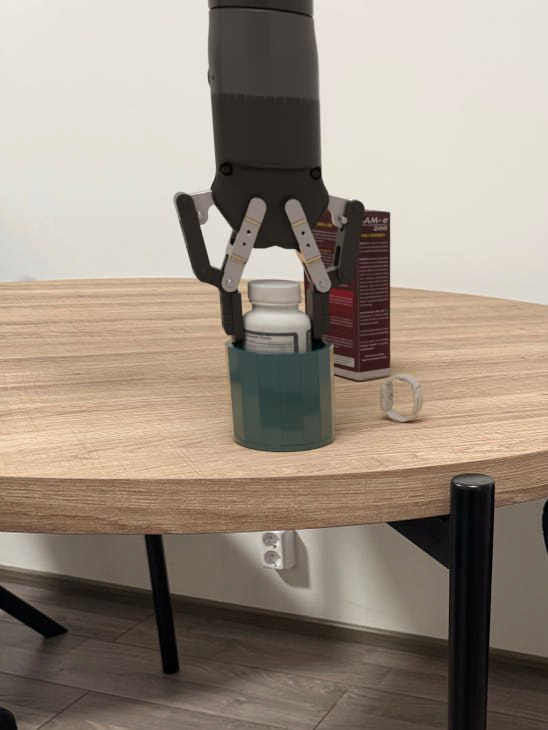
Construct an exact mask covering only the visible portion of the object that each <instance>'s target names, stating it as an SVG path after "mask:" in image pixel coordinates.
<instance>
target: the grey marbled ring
mask: <svg viewBox="0 0 548 730" xmlns="http://www.w3.org/2000/svg"><path fill="white" fill-rule="evenodd" d="M397 379H398V380H399V381H400V382H403V383H406V384H407V385H408V386H410V387H411V390H412V395H413V396H412V397H413V402H412V403H413V404H412V409H411V410H412V413H411V414H410V415H409V416H401V415H400V414H398V413H396V411H395V410H394V409H393V406H394V384H393V381H394V380H397ZM379 387H380V388H379V389H380V391H379V396H380V404H379V405H380V410H381V411H382V412H384V414H385V415H386V416H387V417H388V418H390V419H391V420H393V421H395V422H397V423H405V422H408V421H411V420H413V419H414V418H416V417H417V416H418V415H419V413H420V412H421V410H422V408H423V405H424V401H425V399H424V393H423V392H424V391H423V390H422V387H421V383H420V382H419V381H418V380H417V379H416V378H415V377H414V376H411V375H409V374H408V373H407V374H406V373H399V374H397V375H394V376H392V377H390V378H388V379H387V380H386V381H385V382H384V383H383V384H381V385H380V386H379Z"/></svg>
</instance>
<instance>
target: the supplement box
mask: <svg viewBox="0 0 548 730" xmlns="http://www.w3.org/2000/svg"><path fill="white" fill-rule="evenodd" d="M337 232H338V227H336V226H335V225H334V224H333V222H332V215H331V212H330V210H329V209H328V208H327V209H326V211H325V212H324V214H323V215H322V217H321V218H320V220H319V222H318V223H317V225H316V226H315V228H314V229H313V231H312V235H313V237H314V240H315V242H316V244H317V247H318V249H319V252H320V254H321V259H322V262H323V264H324V267H325V269H326V268H329V267H332V263H333V257H334V251H335V244H336V238H337ZM302 269H303V291H304V313H305V314H306V315H307V290H310V282H309V280H308V278H307V275H306V273H305V270H304V268H303V267H302ZM329 312H330V314H329V315H330V329H329V332H328V334H327V335H322V339H326V340H329V341H330V342H331V343H332V344H333V356H334V376H335V375H337V376H339V377H343V378H348V379H351V380H355V381H358V382H360V381H368V380H369V381H370V380H374V379H375V380H376V379H380V378H385V377H390V376H391V212H390V211H384V210H375V209H366V208H365V212H364V218H363V224H362V230H361V236H360V242H359V248H358V254H357V260H356V266H355V272H354V277H353V280H352V281H351V282H350V283H348V284H341V285H338V286H336V287H334V288H333V289H332V290H331V291H330V294H329Z"/></svg>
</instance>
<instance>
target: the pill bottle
mask: <svg viewBox="0 0 548 730" xmlns="http://www.w3.org/2000/svg"><path fill="white" fill-rule="evenodd" d="M246 288H247V298H248V302H249V304H251V309H250V310H248V311H246V312H245V313H243V330H244V343H242V348H243V349H245V350H251V351H258V352H274V353H287V352H304V351H312V342H311V321H310V319H309V317H308V316H307V315H306V314H305V311H303V310H302V311H301V310H300V308H299V305H300V304H301V303H302V298H303V297H302V289H301V283H300V282H298V281H295V280H289V279H277V278H275V279H274V278H266V279H265V278H264V279H263V278H262V279H253V280H252V279H251V280H249V281H248V282H247V287H246Z"/></svg>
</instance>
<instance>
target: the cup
mask: <svg viewBox="0 0 548 730" xmlns="http://www.w3.org/2000/svg"><path fill="white" fill-rule="evenodd" d="M311 342H312V341H311ZM224 351H225V363H226V376H227V390H228V391H227V392H228V404H229V413H230V428H231V433H232V440H233V441H234V443H236V444H237V445H239V446H242V447H245V448H248V449H253V450H257V451H265V452H298V451H299V452H300V451H308V450H313V449H318V448H322V447H325V446H327V445H329V444H331V443H333V442H334V441H335V437H336V433H335V432H336V407H335V406H336V399H335V396H336V395H335V374H334V356H333V344H332V343H331V342H330V341H329V340H326V339H322V342H312V351H304V352H287V353H274V352H258V351H251V350H245V349H243V348H242V343H234V342H233V341H232V338H229V339H227V340H226V341H225V342H224Z"/></svg>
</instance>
